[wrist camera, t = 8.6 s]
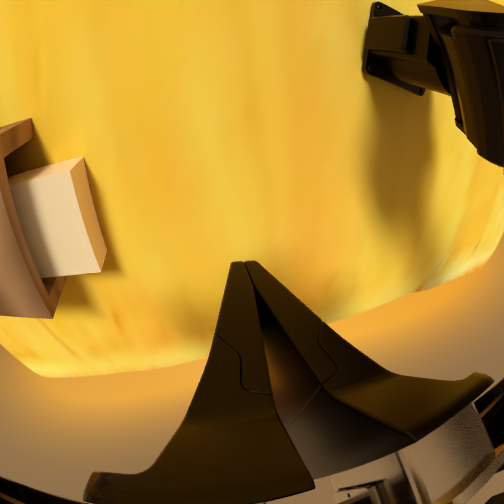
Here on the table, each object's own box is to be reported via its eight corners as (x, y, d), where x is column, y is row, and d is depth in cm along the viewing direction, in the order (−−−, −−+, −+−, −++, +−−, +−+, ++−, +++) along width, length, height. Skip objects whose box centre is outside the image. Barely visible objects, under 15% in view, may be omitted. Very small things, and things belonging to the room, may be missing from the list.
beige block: (85, 154, 15) (69, 170, 13) (108, 247, 20) (101, 272, 18) (-10, 182, 13) (-29, 200, 11) (20, 259, 18) (8, 281, 16)
